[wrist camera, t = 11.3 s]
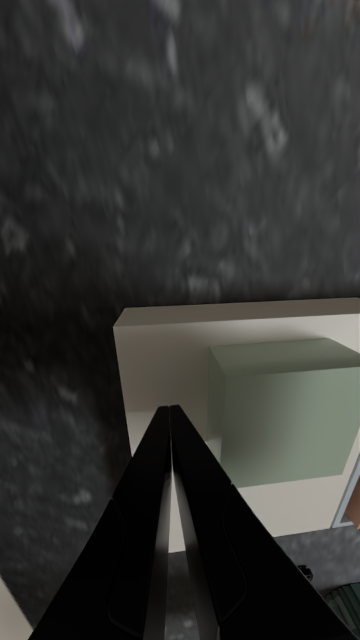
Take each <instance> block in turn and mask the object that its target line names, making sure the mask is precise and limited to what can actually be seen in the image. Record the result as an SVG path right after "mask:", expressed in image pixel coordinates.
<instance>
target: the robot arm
mask: <svg viewBox="0 0 360 640" xmlns="http://www.w3.org/2000/svg"><path fill="white" fill-rule="evenodd" d="M169 416H170V418H169ZM170 434H171V436H170ZM171 452H172V454H171ZM172 467H173V476H174V482H175V489H176V495H177V501H178V507H179V513H180V519H181V526H182V532H183V538H184V544H185V550H186V556H187V562H188V569H189V575H190V581H191V587H192V593H193V599H194V605H195V612H196V618H197V624H198V630H199V636H200V640H360V639H359V638H358V637H357V636H356V635H355V634H354V633H353V632H352V631H351V630H350V628H349V627H348V626H347V625H346V624H345V623H344V622H343V621H342V620H341V618H340V617H339V616H338V615H337V614H336V613H335V611H334V610H333V609H332V608H331V607H330V606H329V604H328V603H327V602H326V601H325V599H324V598H323V597H322V596H321V595H320V593H319V592H318V591H317V590H316V589H315V587H314V586H313V585H312V584H311V580H312V578H313V574H312V572H311V570H310V569H309V568H306V569H299V568H298V567H297V566H296V564H295V563H294V562H293V561H292V560H291V558H290V557H289V556H288V555H287V553H286V552H285V551H284V550H283V549H282V547H281V546H280V545H279V544H278V543H277V541H276V540H275V539H274V538H273V536H272V535H271V534H270V533H269V531H268V530H267V529H266V528H265V526H264V525H263V524H262V523H261V521H260V520H259V519H258V517H257V516H256V515H255V513H254V512H253V511H252V509H251V508H250V506H249V505H248V504H247V502H246V501H245V500H244V498H243V497H242V495H241V494H240V492H239V491H238V489H237V488H236V487H235V485H234V484H232V481H231V479H230V478H229V476H228V475H227V474H226V472H225V471H224V469H223V468H222V466H221V465H220V463H219V462H218V460H217V459H216V457H215V456H214V455H213V453H212V452H211V450H210V449H209V447H208V446H207V444H206V443H205V441H204V440H203V438H202V437H201V435H200V434H199V433H198V431H197V430H196V428H195V427H194V425H193V424H192V422H191V421H190V419H189V418H188V416H187V415H186V413H185V412H184V411H183V409H182V408H181V406H180V405H178V404H177V405H170V406H167V405H166V406H159V407H158V408H157V410H156V412H155V414H154V416H153V418H152V420H151V421H150V423H149V425H148V427H147V429H146V431H145V433H144V435H143V437H142V439H141V441H140V443H139V445H138V447H137V449H136V451H135V453H134V455H133V457H132V458H131V460H130V462H129V464H128V466H127V468H126V470H125V472H124V474H123V476H122V478H121V480H120V482H119V484H118V486H117V488H116V490H115V492H114V493H113V495H112V499H111V500H110V501H109V503H108V505H107V507H106V509H105V511H104V513H103V515H102V517H101V518H100V520H99V522H98V524H97V526H96V528H95V529H94V531H93V533H92V535H91V537H90V539H89V540H88V542H87V544H86V546H85V547H84V549H83V551H82V552H81V554H80V556H79V557H78V559H77V561H76V562H75V564H74V566H73V567H72V569H71V571H70V572H69V574H68V576H67V577H66V579H65V580H64V582H63V584H62V585H61V587H60V589H59V590H58V592H57V593H56V595H55V597H54V598H53V600H52V601H51V603H50V605H49V606H48V608H47V610H46V611H45V613H44V614H43V616H42V618H41V619H40V621H39V622H38V624H37V626H36V627H35V629H34V631H33V632H32V634H31V635H30V637H29V639H28V640H164V634H165V613H166V593H167V572H168V551H169V531H170V510H171V490H172Z"/></svg>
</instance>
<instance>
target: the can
mask: <svg viewBox="0 0 360 640" xmlns="http://www.w3.org/2000/svg"><path fill="white" fill-rule="evenodd" d="M325 601H326V602H327V603H328V604H329V606H330V607H331V608H332V609H333V610H334V611H335V613H336V614H337V615H338V616H339V617H340V618H341V620H342V621H343V622H344V623H345V624H346V625H347V626H348V627H349V628H350V630H351V631H352V632H353V633H354V634H355V635H356V636H357V637H358V638H359V639H360V583H355V584H350V585H349V586H343V587H342V588H338V589H337V590H334V591H333V592H332V593H331V594H328V595H327V596H326V597H325Z"/></svg>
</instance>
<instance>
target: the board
mask: <svg viewBox="0 0 360 640" xmlns="http://www.w3.org/2000/svg"><path fill="white" fill-rule="evenodd" d="M113 331H114V338H115V345H116V352H117V358H118V365H119V372H120V379H121V386H122V393H123V399H124V406H125V413H126V420H127V427H128V434H129V440H130V447H131V454H132V457H133V455H134V453H135V451H136V449H137V447H138V445H139V443H140V441H141V439H142V437H143V435H144V433H145V431H146V429H147V427H148V425H149V423H150V421H151V420H152V418H153V416H154V414H155V412H156V410H157V408H158V407H159V406H166V405H167V406H170V405H177V404H178V405H180V406H181V408H182V409H183V411H184V412H185V413H186V415H187V416H188V418H189V419H190V421H191V422H192V424H193V425H194V427H195V428H196V430H197V431H198V433H199V434H200V435H201V437H202V438H203V440H204V441H205V443H206V444H207V442H206V436H207V404H208V372H209V346H219V345H234V344H249V343H265V342H280V341H296V340H311V339H327V338H330V339H332V340H334V341H336V342H338V343H340V344H342V345H344V346H346V347H348V348H350V349H352V350H354V351H356V352H358V353H360V298H357V297H353V298H332V299H310V300H288V301H267V302H245V303H224V304H202V305H180V306H159V307H137V308H125V309H124V310H123V312H122V314H121V315H120V317H119V318H118V320H117V321H116V323H115V324H114V326H113ZM169 418H170V416H169ZM170 436H171V434H170ZM359 453H360V428H359V431H358V433H357V436H356V439H355V441H354V444H353V447H352V449H351V452H350V455H349V457H348V460H347V463H346V465H345V468H344V471H343V473H342V475H335V476H328V477H320V478H312V479H305V480H297V481H289V482H281V483H274V484H266V485H258V486H250V487H243V488H237V489H238V491H239V492H240V494H241V495H242V497H243V498H244V500H245V501H246V502H247V504H248V505H249V506H250V508H251V509H252V511H253V512H254V513H255V515H256V516H257V517H258V519H259V520H260V521H261V523H262V524H263V525H264V526H265V528H266V529H267V530H268V531H269V533H270V534H271V535H272V536H273V537H276V536H282V535H289V534H295V533H302V532H308V531H315V530H321V529H328V528H330V526H331V523H332V521H333V518H334V516H335V513H336V511H337V508H338V506H339V503H340V501H341V498H342V496H343V493H344V491H345V488H346V485H347V483H348V480H349V478H350V475H351V473H352V470H353V468H354V465H355V463H356V460H357V458H358V455H359ZM171 454H172V452H171ZM178 551H185V544H184V538H183V532H182V526H181V519H180V513H179V507H178V501H177V495H176V489H175V482H174V476H173V467H172V490H171V510H170V531H169V551H168V553H172V552H178Z"/></svg>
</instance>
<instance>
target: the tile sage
mask: <svg viewBox="0 0 360 640" xmlns="http://www.w3.org/2000/svg"><path fill="white" fill-rule="evenodd" d="M359 428H360V353H358V352H356V351H354V350H352V349H350V348H348V347H346V346H344V345H342V344H340V343H338V342H336V341H334V340H332V339H330V338H327V339H311V340H296V341H280V342H265V343H249V344H234V345H219V346H209V372H208V404H207V436H206V442H207V446H208V447H209V449H210V450H211V452H212V453H213V455H214V456H215V457H216V459H217V460H218V462H219V463H220V465H221V466H222V468H223V469H224V471H225V472H226V474H227V475H228V476H229V478H230V479H231V481H232V484H234V485H235V487H236V488H243V487H250V486H258V485H266V484H274V483H281V482H289V481H297V480H305V479H312V478H320V477H328V476H335V475H342V473H343V471H344V468H345V465H346V463H347V460H348V457H349V455H350V452H351V449H352V447H353V444H354V441H355V439H356V436H357V433H358V431H359Z"/></svg>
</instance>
